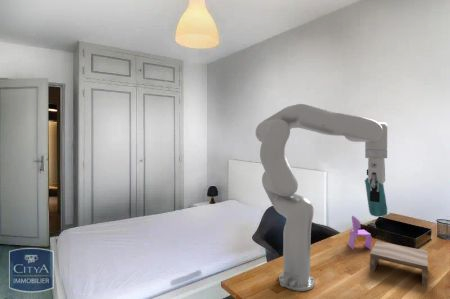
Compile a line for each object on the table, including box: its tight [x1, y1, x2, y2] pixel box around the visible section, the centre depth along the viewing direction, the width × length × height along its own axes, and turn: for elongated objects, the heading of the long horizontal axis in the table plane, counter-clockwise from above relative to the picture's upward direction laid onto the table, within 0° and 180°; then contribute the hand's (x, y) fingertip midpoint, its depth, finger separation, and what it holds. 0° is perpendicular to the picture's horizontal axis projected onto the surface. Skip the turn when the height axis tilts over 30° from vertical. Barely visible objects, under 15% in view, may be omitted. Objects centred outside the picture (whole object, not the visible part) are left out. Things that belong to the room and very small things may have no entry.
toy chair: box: [347, 215, 373, 251], centre depth 128 cm, size 8×9×15 cm
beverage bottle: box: [364, 168, 388, 218], centre depth 105 cm, size 6×7×20 cm
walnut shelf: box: [369, 240, 429, 287], centre depth 106 cm, size 16×18×7 cm
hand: (375, 199), depth 105 cm, fingers closed on beverage bottle, 5 cm apart
